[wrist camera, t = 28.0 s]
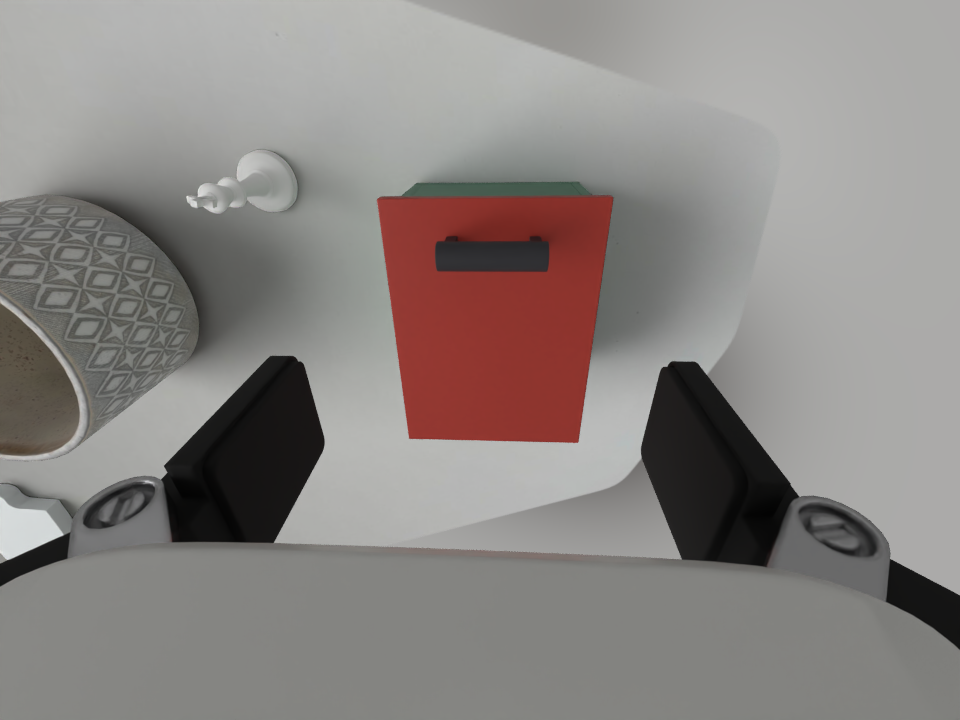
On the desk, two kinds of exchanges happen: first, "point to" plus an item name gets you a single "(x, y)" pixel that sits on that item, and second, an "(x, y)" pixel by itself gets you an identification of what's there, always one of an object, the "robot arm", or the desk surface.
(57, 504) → the mounting plate
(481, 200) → the lid
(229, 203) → the chess piece
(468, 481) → the desk surface
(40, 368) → the planter
